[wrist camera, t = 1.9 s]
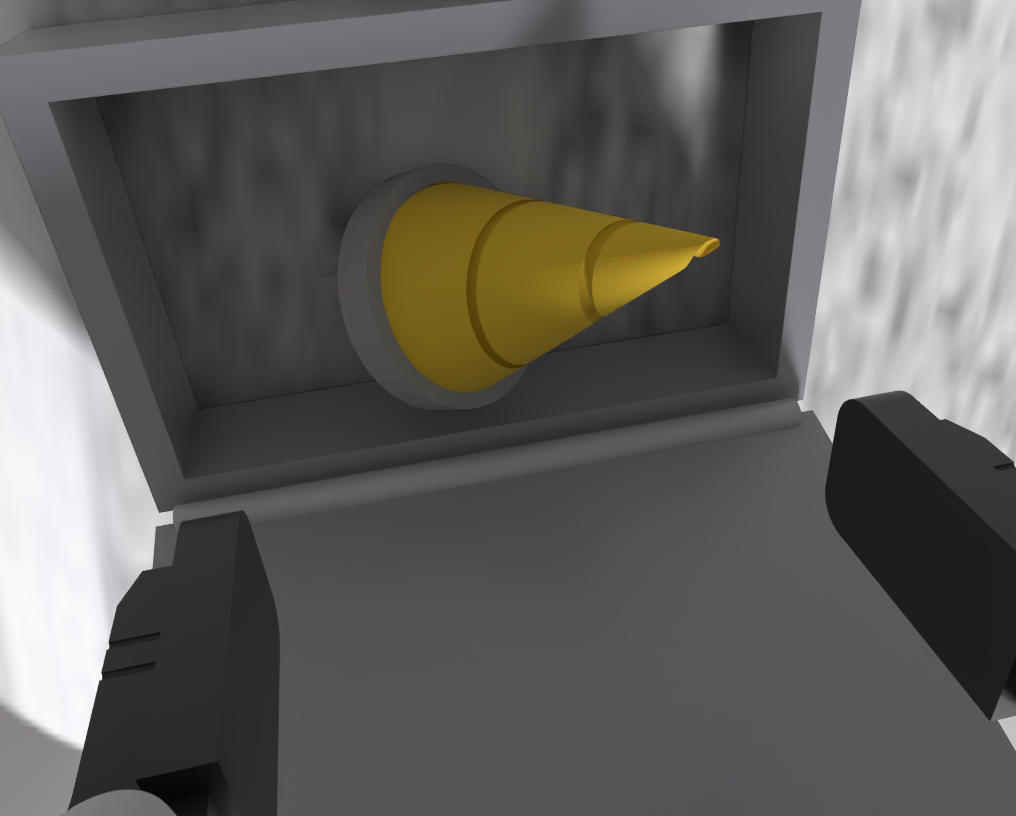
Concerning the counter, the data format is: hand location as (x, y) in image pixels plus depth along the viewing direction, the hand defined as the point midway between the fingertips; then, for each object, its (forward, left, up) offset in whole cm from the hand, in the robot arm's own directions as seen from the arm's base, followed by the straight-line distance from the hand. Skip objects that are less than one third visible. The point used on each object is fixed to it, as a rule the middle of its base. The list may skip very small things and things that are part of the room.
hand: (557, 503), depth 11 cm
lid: (0, +6, -3) cm, 6 cm away
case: (0, 0, -11) cm, 11 cm away
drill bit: (0, 0, -11) cm, 11 cm away
